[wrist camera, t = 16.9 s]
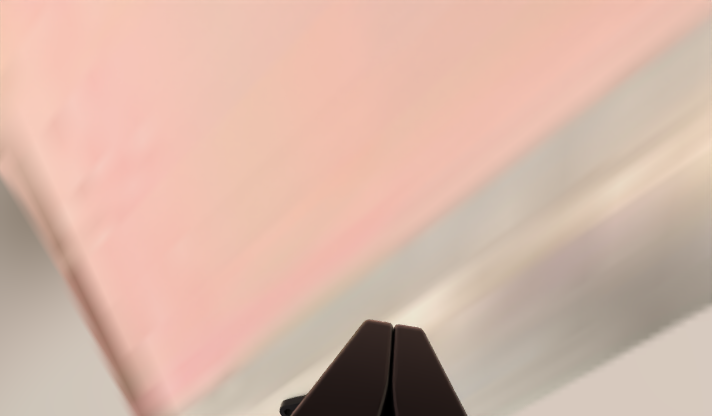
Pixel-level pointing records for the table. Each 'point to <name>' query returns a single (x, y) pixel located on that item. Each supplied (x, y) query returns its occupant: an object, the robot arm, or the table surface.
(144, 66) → the table surface
